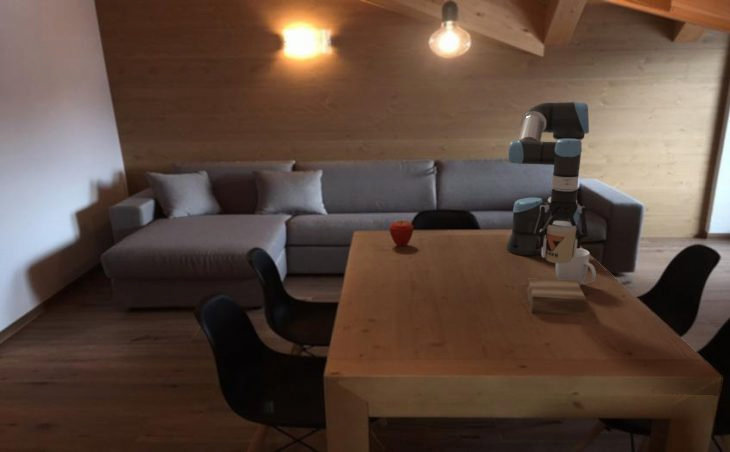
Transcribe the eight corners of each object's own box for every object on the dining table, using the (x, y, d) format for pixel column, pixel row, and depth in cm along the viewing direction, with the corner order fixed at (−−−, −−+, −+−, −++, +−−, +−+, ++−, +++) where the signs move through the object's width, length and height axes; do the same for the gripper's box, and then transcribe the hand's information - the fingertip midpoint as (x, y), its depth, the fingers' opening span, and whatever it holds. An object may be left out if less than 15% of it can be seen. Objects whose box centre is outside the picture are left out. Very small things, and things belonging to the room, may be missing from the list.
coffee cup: (536, 257, 165) (539, 222, 162) (558, 253, 169) (561, 219, 165) (557, 266, 157) (560, 229, 154) (580, 261, 160) (583, 225, 157)
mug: (602, 289, 179) (606, 255, 175) (583, 296, 173) (587, 261, 169) (565, 277, 191) (568, 244, 187) (547, 283, 185) (550, 250, 181)
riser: (526, 293, 176) (527, 277, 175) (574, 296, 173) (576, 280, 171) (531, 313, 161) (533, 296, 160) (584, 317, 158) (586, 299, 156)
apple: (390, 241, 238) (390, 217, 234) (413, 242, 236) (413, 217, 233) (388, 249, 227) (388, 223, 224) (412, 249, 226) (412, 224, 222)
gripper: (530, 190, 155) (525, 259, 161) (604, 192, 151) (596, 262, 157) (527, 185, 162) (522, 251, 168) (598, 187, 158) (590, 254, 164)
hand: (558, 256), depth 163 cm, fingers closed on coffee cup, 9 cm apart
